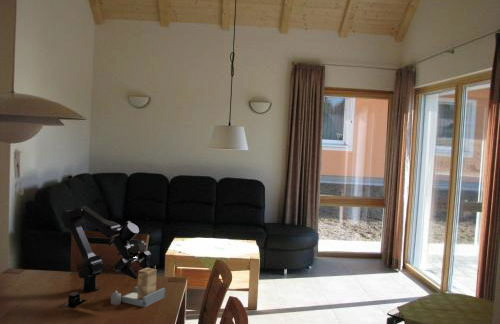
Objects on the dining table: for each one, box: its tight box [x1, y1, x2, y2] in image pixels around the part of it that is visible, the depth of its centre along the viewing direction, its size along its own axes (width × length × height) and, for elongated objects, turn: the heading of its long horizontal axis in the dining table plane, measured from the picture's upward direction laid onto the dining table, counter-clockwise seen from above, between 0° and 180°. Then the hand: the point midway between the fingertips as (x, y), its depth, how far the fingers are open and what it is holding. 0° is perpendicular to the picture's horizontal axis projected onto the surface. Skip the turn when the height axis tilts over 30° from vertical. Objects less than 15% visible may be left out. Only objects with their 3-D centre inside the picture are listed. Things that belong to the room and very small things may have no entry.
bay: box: [110, 285, 166, 308], centre depth 194 cm, size 16×18×6 cm
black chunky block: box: [62, 291, 87, 309], centre depth 191 cm, size 12×7×5 cm, turn 169°
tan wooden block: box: [137, 267, 158, 301], centre depth 195 cm, size 5×6×13 cm
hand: (143, 275), depth 196 cm, fingers open, 9 cm apart
